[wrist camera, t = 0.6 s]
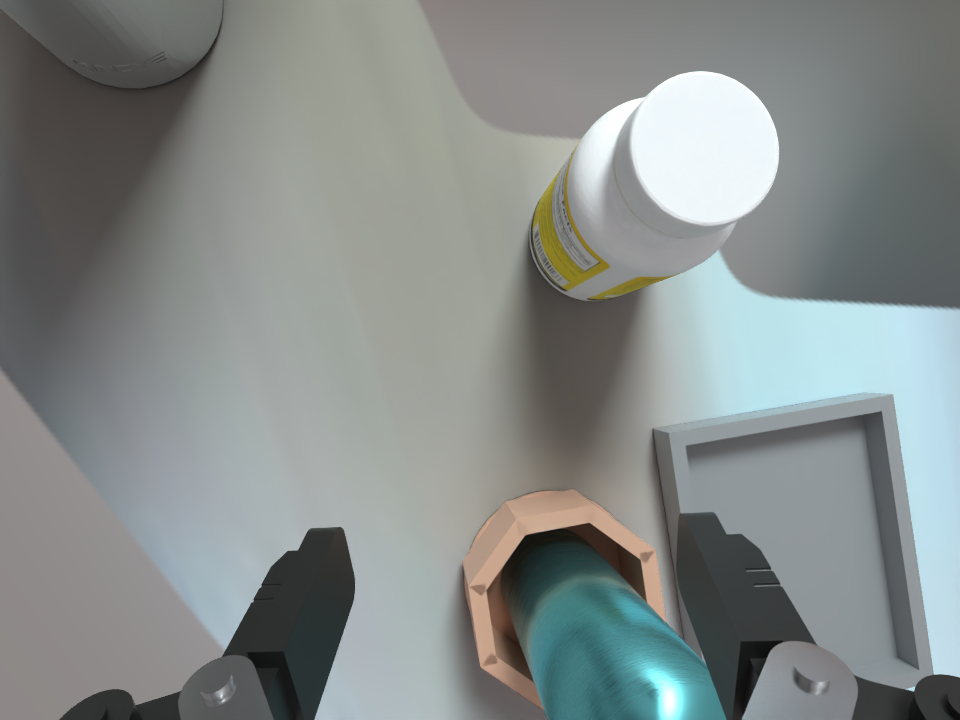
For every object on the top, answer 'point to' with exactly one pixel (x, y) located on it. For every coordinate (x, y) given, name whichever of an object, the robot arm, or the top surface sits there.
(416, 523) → the top surface
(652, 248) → the supplement bottle
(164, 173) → the top surface
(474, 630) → the peach octagonal bowl
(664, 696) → the bottle
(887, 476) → the tray
